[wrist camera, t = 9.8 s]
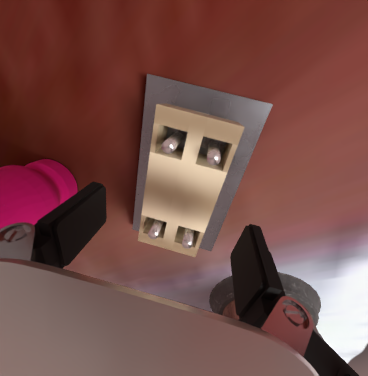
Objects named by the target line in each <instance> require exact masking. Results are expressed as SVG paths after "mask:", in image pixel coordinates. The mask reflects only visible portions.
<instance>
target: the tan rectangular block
mask: <svg viewBox="0 0 368 376" xmlns="http://www.w3.org/2000/svg"><path fill="white" fill-rule="evenodd" d="M168 127H171V128H175V129H178V130H182V131H186V132H188V134H187V138H186V142H185V147H184V149H182V148H178V147H177V148H176V149H175V150H174V151H173V152H172V153H170V154H167V153H165V152H164V151H163V150H162V143H163V142H164V141H165V140H166V136H167V130H168ZM244 128H245V127H244V126H243V125H241V124H240V123H239V122H236V121H232V120H228V119H224V118H220V117H217V116H213V115H209V114H205V113H201V112H198V111H194V110H190V109H186V108H182V107H178V106H175V105H171V104H156V111H155V118H154V125H153V133H152V140H151V148H150V155H149V162H148V170H147V177H146V185H145V192H144V199H143V207H142V214H141V222H140V229H139V237H138V241H141V242H144V243H148V244H151V245H155V246H158V247H161V248H165V249H168V250H172V251H175V252H179V253H182V254H186V255H189V256H193V257H195V256H196V254H197V251H198V249H199V246H200V243H201V241H202V238H203V235H204V233H205V230H206V228H207V225H208V222H209V220H210V217H211V214H212V212H213V209H214V207H215V204H216V201H217V199H218V196H219V193H220V191H221V188H222V186H223V183H224V180H225V178H226V175H227V172H228V170H229V167H230V165H231V162H232V159H233V157H234V154H235V151H236V149H237V146H238V144H239V141H240V138H241V136H242V133H243V130H244ZM203 136H205V137H208V138H212V139H216V140H220V141H223V142H227V143H226V145H225V148H224V151H223V154H222V157H221V160H220V162H219V164H217V165H210V164H209V163H208V162H207V155H204V154H200V153H199V150H200V146H201V142H202V139H203ZM155 219H157V220H161V221H164V223H163V225H162V227H161V230H160V232H159V235H158V237H157V238H156V239H151V238H149V236H148V233H149V231H150V229H151V227H152V225H153V223H154V221H155ZM185 228H189V229H192V230H194V235H193V242H192V247H191V248H189V249H186V248H184V247H183V246H182V241H183V237H184V232H185Z"/></svg>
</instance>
